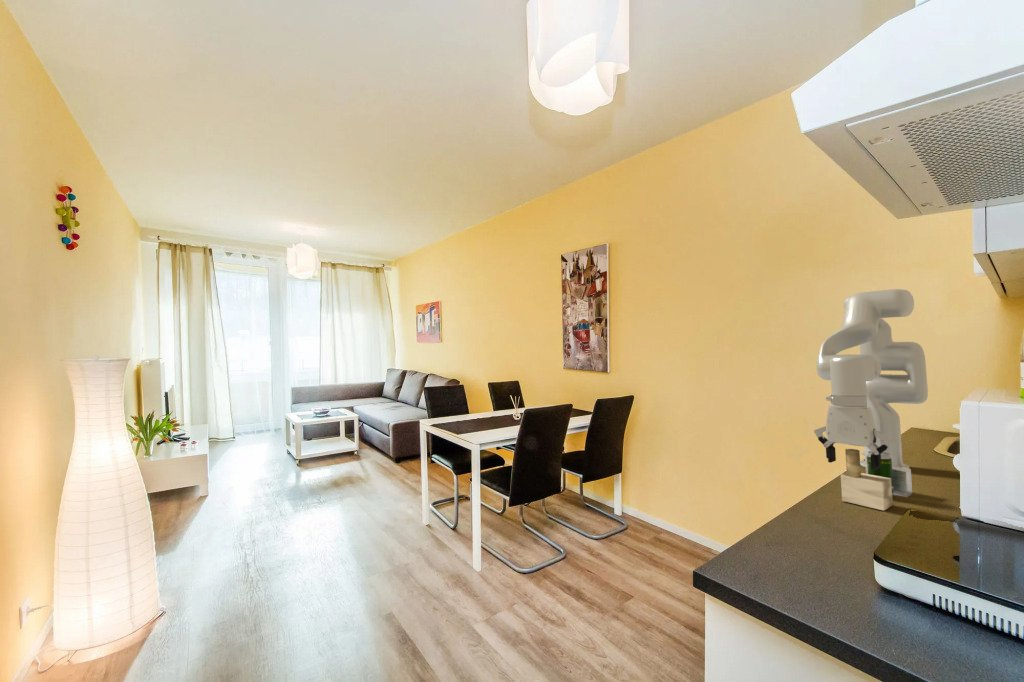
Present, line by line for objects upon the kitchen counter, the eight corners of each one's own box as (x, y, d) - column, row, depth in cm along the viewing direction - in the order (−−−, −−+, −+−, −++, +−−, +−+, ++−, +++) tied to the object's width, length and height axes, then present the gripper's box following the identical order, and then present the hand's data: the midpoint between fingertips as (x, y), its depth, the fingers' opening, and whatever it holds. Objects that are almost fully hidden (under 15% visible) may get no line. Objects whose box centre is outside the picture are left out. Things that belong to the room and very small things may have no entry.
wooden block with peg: (851, 496, 119) (848, 445, 119) (892, 505, 112) (889, 451, 112) (842, 500, 116) (839, 449, 116) (884, 510, 108) (880, 455, 109)
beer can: (896, 495, 119) (893, 452, 119) (892, 500, 115) (889, 456, 116) (871, 491, 123) (868, 449, 123) (866, 496, 119) (864, 453, 120)
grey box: (872, 486, 127) (870, 462, 127) (912, 493, 120) (910, 468, 120) (867, 488, 125) (865, 464, 125) (907, 497, 117) (905, 471, 118)
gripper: (807, 400, 121) (810, 461, 120) (884, 405, 106) (888, 474, 105) (819, 398, 125) (822, 457, 124) (895, 402, 110) (899, 469, 109)
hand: (852, 465), depth 115 cm, fingers open, 9 cm apart
